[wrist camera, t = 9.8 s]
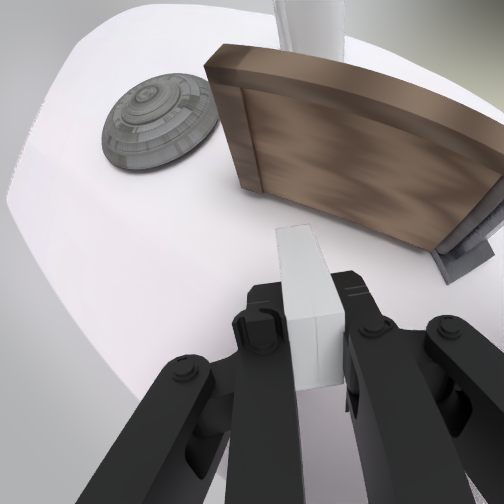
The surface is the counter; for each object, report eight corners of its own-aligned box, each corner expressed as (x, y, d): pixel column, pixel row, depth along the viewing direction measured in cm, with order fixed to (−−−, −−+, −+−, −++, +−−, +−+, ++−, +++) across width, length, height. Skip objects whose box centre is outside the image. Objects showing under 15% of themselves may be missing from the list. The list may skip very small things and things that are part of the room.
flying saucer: (250, 103, 34) (242, 66, 29) (161, 198, 31) (139, 167, 25) (164, 75, 38) (151, 46, 33) (87, 150, 35) (65, 124, 30)
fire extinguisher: (249, 112, 33) (199, -106, 10) (316, 65, 35) (308, -115, 12) (296, 141, 31) (274, -115, 7) (361, 88, 32) (375, -108, 9)
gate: (451, 237, 23) (534, 143, 11) (446, 262, 23) (539, 175, 10) (252, 166, 28) (223, 43, 16) (241, 187, 28) (203, 65, 15)
